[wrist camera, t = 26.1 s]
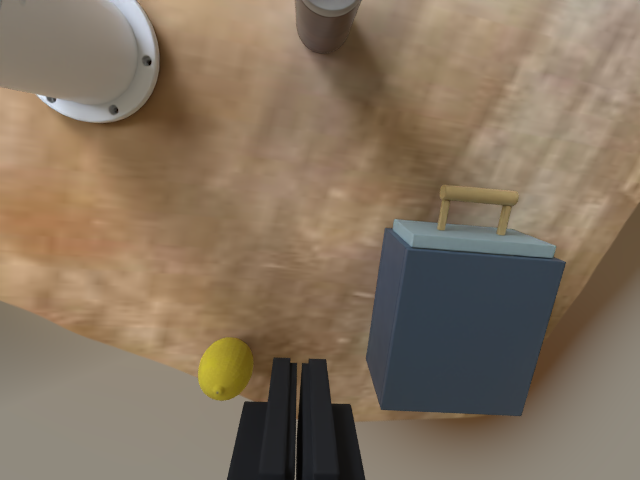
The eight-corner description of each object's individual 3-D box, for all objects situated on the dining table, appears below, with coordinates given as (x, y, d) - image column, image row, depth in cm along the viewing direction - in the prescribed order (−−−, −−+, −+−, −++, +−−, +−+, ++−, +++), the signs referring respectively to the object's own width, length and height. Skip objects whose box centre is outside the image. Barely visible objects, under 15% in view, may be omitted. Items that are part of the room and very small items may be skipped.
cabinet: (385, 227, 37) (407, 249, 29) (510, 238, 38) (566, 262, 30) (365, 359, 42) (380, 410, 33) (479, 365, 43) (521, 416, 34)
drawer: (400, 178, 35) (421, 184, 29) (522, 189, 36) (570, 198, 30) (374, 347, 40) (388, 385, 34) (482, 353, 41) (516, 391, 35)
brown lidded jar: (288, 4, 31) (281, -64, 21) (339, -16, 31) (357, -95, 21) (307, 61, 33) (309, 22, 23) (356, 42, 33) (381, -6, 22)
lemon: (222, 317, 39) (202, 358, 31) (265, 337, 40) (257, 382, 32) (202, 355, 40) (178, 403, 33) (245, 373, 41) (231, 425, 34)
